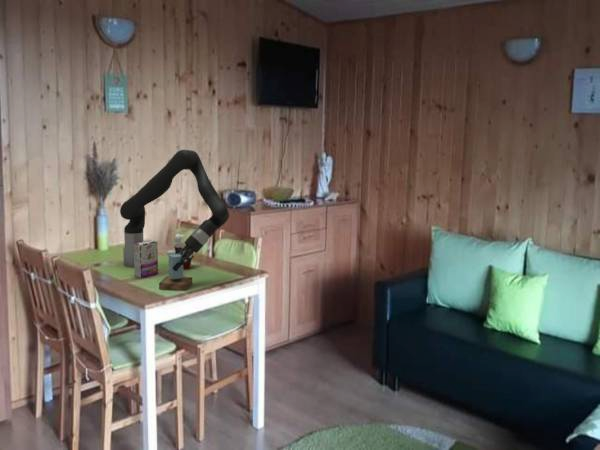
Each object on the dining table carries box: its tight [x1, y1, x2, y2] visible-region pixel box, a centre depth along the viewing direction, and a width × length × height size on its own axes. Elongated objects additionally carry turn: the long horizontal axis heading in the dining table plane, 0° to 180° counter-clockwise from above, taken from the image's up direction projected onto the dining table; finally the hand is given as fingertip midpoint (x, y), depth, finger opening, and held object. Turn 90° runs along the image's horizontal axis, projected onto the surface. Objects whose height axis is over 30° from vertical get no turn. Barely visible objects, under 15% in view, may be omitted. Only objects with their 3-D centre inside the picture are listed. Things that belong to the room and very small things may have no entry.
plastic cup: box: [173, 242, 193, 270], centre depth 305 cm, size 11×11×12 cm
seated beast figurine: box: [166, 233, 185, 256], centre depth 333 cm, size 10×9×12 cm
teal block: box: [168, 254, 184, 279], centre depth 270 cm, size 5×5×10 cm
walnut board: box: [158, 275, 193, 292], centre depth 272 cm, size 12×12×3 cm
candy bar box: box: [133, 239, 159, 279], centre depth 288 cm, size 11×5×16 cm, turn 148°
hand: (172, 268), depth 270 cm, fingers closed on teal block, 5 cm apart
